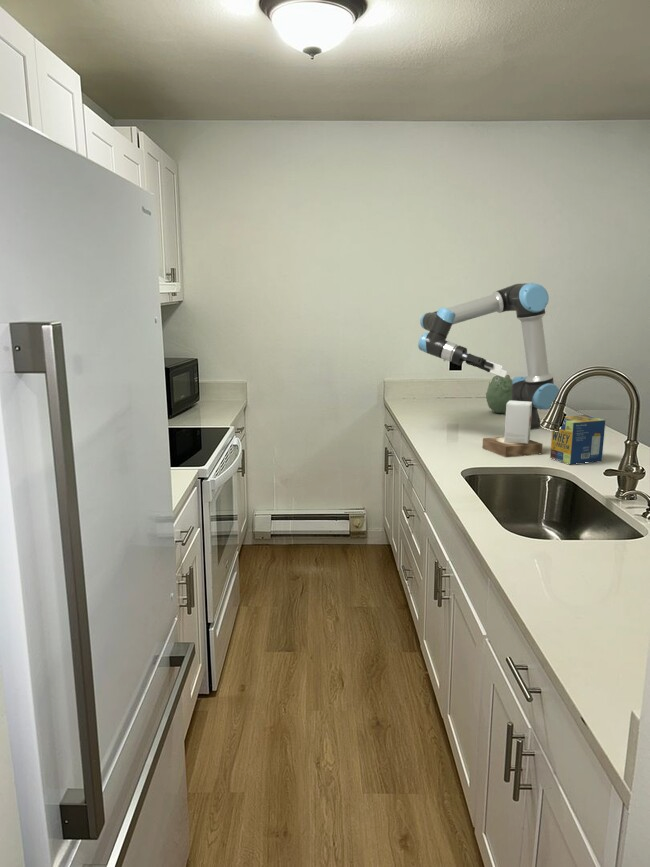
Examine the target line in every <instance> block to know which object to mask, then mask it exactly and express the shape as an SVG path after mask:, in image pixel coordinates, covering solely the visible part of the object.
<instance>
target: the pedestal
mask: <svg viewBox="0 0 650 867" xmlns="http://www.w3.org/2000/svg"><path fill="white" fill-rule="evenodd" d="M543 445H544V444H543V443H542V442H539V441H535V440H532V439H530V440H529V442H528V444H524V443H511V442H504V436H498V437H497V436H496V437H484V438H482V447H481V448H482V449H483V450H486V451H488V452H490V453H491V452H492V453H493V454H496V455H498V456H500V457H504V458H512V457H523V456H524V455H526V456H532V455H531V454H538V455H540V454H539V453H542V454H543Z"/></svg>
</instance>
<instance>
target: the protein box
mask: <svg viewBox="0 0 650 867" xmlns="http://www.w3.org/2000/svg"><path fill="white" fill-rule="evenodd" d="M564 417H565V419H564V422H563V425H562V427H561V429H560V431H558V432H555V431H552V430H551V439H550V440H551V442H550V457H549V459H550V458H552V459H555V460H558V461H561V462H560V463H562V462H564V463H563V464H565V463H568V464H576V463H584V464H586V463H585V462H592V463H598V462H597V461H601V462H602V461H603V452H604V450H603V449H604V441H605V440H604V439H605V430H606V419H603V418H598V417H595V416H589V415H585V414H583V415H582V414H581V415H573V416H570V415H569V416H564ZM552 459H551V460H552ZM555 460H554V461H555ZM558 461H557V462H558ZM568 464H567V465H568ZM576 465H577V464H576Z"/></svg>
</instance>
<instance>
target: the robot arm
mask: <svg viewBox="0 0 650 867" xmlns="http://www.w3.org/2000/svg"><path fill="white" fill-rule="evenodd" d="M549 299H550V298H549V293H548V291H547V289H546V288H545V287H544V286H543V285H541V284H539V283H535V282H528V283H516V284H512V285H509V286H506V287H503V288H501V289H499V290H496V291H495V290H494V291H493V292H492V294H489V295H486V296H483V297H480V298H476V299H473V300H470V301H467V302H463V303H460V304H457V305H453V306H450V307H446V308H445V307H439V308H438V310H437V311H433V312H431V311H430V312H426V313H423V314H422V316H421V317H420V319H419V324H420V326H421V328H422V329H423V330H426V331H428V332H424V333H422V334H421V336H420V338H419V340H418V344H417V346H418V348H417V349H419V351H422V352H423V353H426V354H428V355H431V356H434V357H436V358H440V359H442V360H443V362H446V361H447V362H451V363H452V364H455V365H457V366H461V365H463V363H464V362H465V363H466V365H469V366H472V367H475V368H478V369H481V370H482V371H485V372H487V373H491V374H494V375H495V376H497V375H499V376H501V377H504V378H505V376H506V375H508V371H507V370H505V369H503V365H502V364H498V363H495V362H492V361H490V360H486V359H485V358H483V357H481V356H476V355H474V354H472V353H468V348H467V347H464V346H463V345H462V346H461V345H458V344H457V343H454V342H451V341H449V340H446V339H447V338H448V335H449V333H450V331H451V328H452V326H454V325H455V324H459V323H463V322H466V321H469V320H473V319H476V318H479V317H483V316H486V315H489V314H492V313H499V314H501V313H506V312H515V314H516V318H517V320H518V321H520V322H521V324H520V325H521V330H522V331H521V332H522V339H523V345H524V352H525V355H524V356H525V363H526V369H527V376H515V377H513V378H512V381H513V382H512V398H511V401H529V402H532V412H531V428H530V430H535V429H534V428H537V429H540V428H541V424H540V423H541V420H540V415H539V411H538V410H542V411H543V410H545V411H546V410H550V409H551V408H550V407H551V404H552V402H553V401H554V399H555V397H556V395H557V394H558V392H559V391H560V389H559V387H558V386H557V384H555V383H554V382H555V381H554V377H553V376H554V375H552V373H550V372H549V364H548V357H547V356H548V355H547V349H546V340H545V333H544V332H545V331H544V323H543V317H544V316H545V314H546V307H547V305H548V303H549ZM539 427H540V428H539Z"/></svg>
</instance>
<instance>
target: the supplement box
mask: <svg viewBox="0 0 650 867" xmlns="http://www.w3.org/2000/svg"><path fill="white" fill-rule="evenodd" d="M531 412H532V402H529V401H509V402H508V403H507V404H506V413H505V419H504V420H505V421H504V436H503V437H504V442H511V443H524V444H528V442H529V440H531V429H530V428H531Z"/></svg>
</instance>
